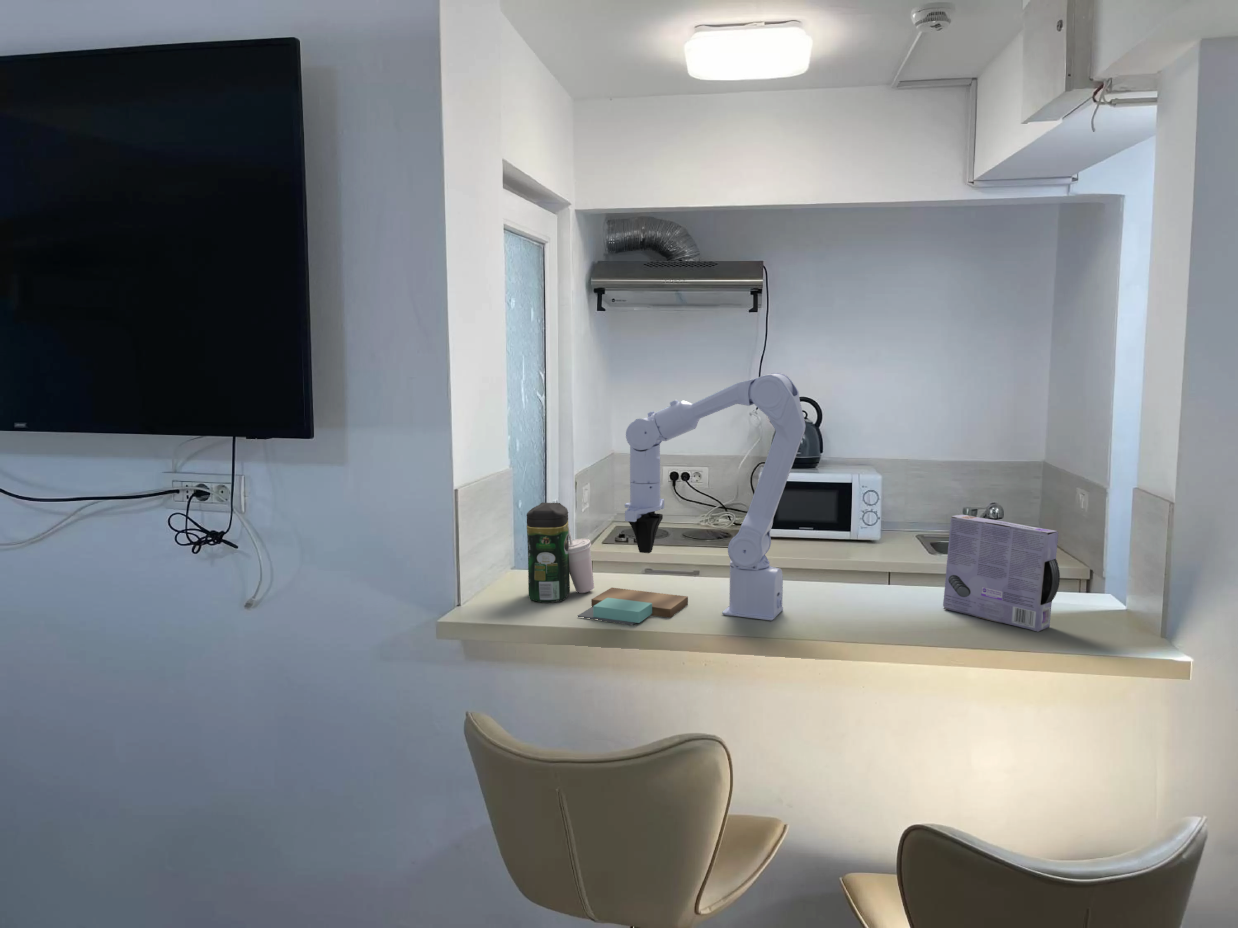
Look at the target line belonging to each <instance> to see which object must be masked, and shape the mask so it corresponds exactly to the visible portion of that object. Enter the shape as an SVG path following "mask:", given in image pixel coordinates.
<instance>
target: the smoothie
mask: <svg viewBox="0 0 1238 928" xmlns="http://www.w3.org/2000/svg"><path fill="white" fill-rule="evenodd" d="M568 536H569V549H568V554H569V575H570V578H571V580H572V584H573V586H574V589H575V592H576V591H577V592H576V593H578V592H579V593H578V594H582V593H587V592H590V591H593V590H594V589H595V582H594V573H593V572H594V571H593V563H592V552H591V546H592V543H591V540H590V539H588V538H576V539H573V537H572V534H571V529H570V525H569V523H568Z"/></svg>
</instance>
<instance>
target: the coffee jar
mask: <svg viewBox="0 0 1238 928" xmlns="http://www.w3.org/2000/svg"><path fill="white" fill-rule="evenodd" d="M568 524H569V511H568V508H567V507H566V506H565V505H563V504H562V503H561V502H541V503H539V504H538V505H536V506H534V507H532V508H531V509H530V510H528V511H527V513H526V538H527V567H528V568H527V573H528V575H527V576H528V578H527V579H528V581H527V582H528V586H527V587H528V589H527V590H528V598H529V600H530V601H532V602H539V603H540V602H542V603H541V604H551V603H555V602H563V601H565V599H567V598H568V596H569V594H570V591H571V585H570V584H571V582H570V581H571V580H570V578H571V576H570V573H569V554H568V549H569V541H570V540H569V536H568ZM550 602H551V603H550Z"/></svg>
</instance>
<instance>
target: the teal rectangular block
mask: <svg viewBox="0 0 1238 928" xmlns="http://www.w3.org/2000/svg"><path fill="white" fill-rule="evenodd" d="M651 614H652V603H647V602H639V601H631V600H623V599H615V598H606V599H604V600H603V601H601V602H599V603H598V604H596V605H594V606H593V617H598V618H606V619H613V620H621V621H628V622H636V623H635V624H639V623H642V622H643V620H645V619H647V618H648V617H650V616H652V615H651Z"/></svg>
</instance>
